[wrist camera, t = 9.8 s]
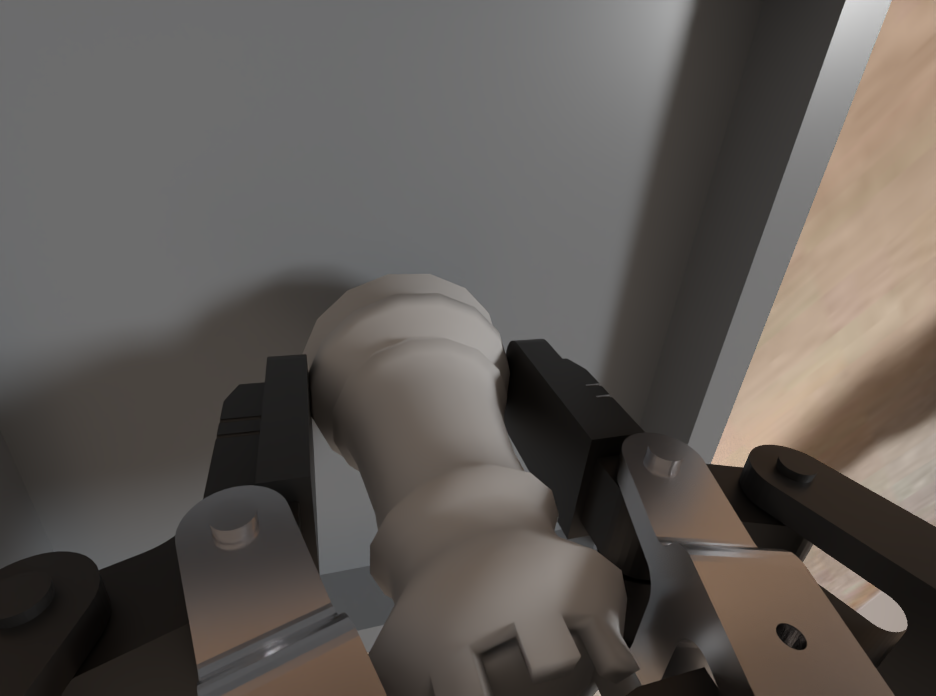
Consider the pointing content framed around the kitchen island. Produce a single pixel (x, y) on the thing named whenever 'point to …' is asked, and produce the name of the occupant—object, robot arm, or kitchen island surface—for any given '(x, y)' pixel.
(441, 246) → the tray
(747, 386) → the kitchen island surface
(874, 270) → the kitchen island surface
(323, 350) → the rook chess piece
